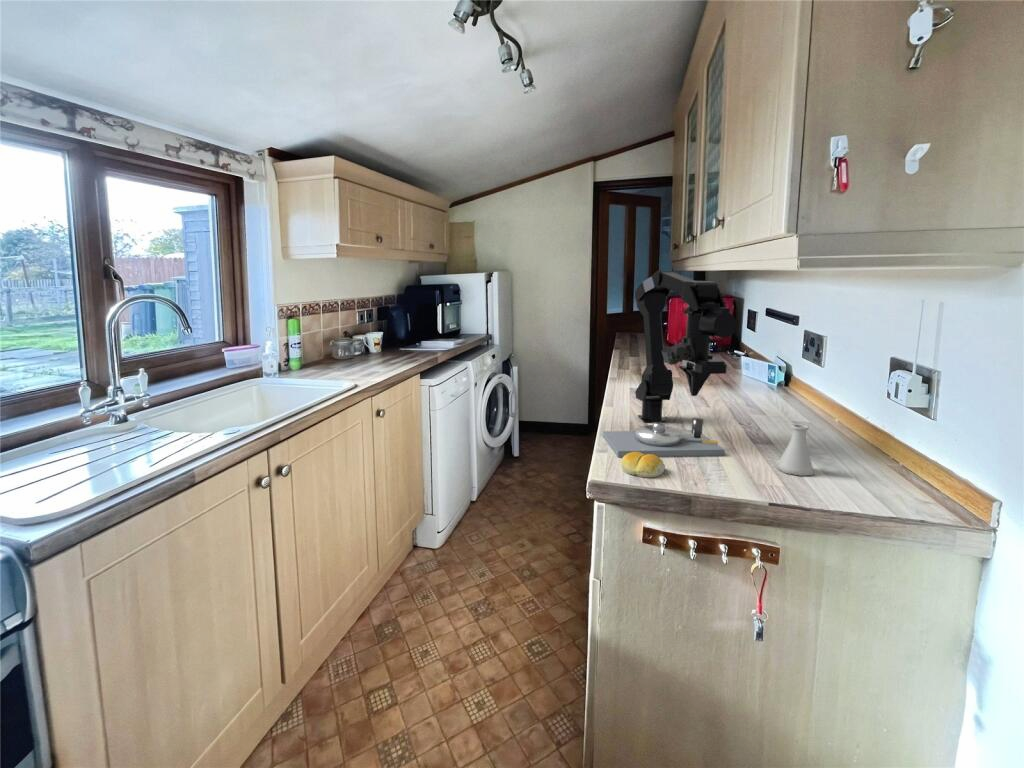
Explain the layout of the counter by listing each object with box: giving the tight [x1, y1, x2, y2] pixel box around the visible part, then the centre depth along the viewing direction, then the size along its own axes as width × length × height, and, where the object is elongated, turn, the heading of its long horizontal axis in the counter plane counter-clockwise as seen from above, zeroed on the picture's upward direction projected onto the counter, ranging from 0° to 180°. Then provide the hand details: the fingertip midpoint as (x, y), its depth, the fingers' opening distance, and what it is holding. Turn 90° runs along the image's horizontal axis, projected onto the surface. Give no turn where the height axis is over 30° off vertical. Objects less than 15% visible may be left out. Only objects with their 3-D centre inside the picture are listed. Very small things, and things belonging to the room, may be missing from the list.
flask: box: [776, 423, 815, 477], centre depth 109 cm, size 7×7×10 cm
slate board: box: [602, 429, 725, 458], centre depth 126 cm, size 16×26×2 cm, turn 93°
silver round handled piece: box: [635, 417, 704, 446], centre depth 125 cm, size 16×11×6 cm
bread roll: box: [620, 452, 666, 478], centre depth 110 cm, size 8×9×4 cm
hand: (693, 395), depth 128 cm, fingers closed
